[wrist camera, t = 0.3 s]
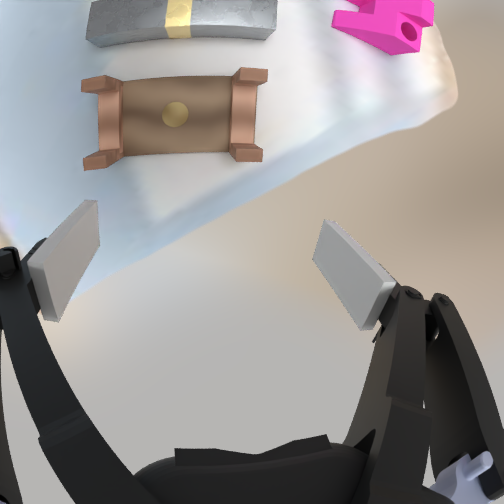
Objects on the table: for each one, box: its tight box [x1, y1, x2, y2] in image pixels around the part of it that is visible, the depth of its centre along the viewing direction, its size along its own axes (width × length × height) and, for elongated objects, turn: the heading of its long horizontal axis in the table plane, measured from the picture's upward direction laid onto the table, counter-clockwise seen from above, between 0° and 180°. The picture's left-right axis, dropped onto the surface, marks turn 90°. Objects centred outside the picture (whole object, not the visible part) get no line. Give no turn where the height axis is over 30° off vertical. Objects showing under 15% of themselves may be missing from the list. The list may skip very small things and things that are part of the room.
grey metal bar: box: [86, 0, 277, 47], centre depth 25 cm, size 24×6×6 cm, turn 87°
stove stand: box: [81, 67, 268, 171], centre depth 30 cm, size 11×22×10 cm, turn 87°
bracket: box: [331, 0, 434, 55], centre depth 25 cm, size 12×10×10 cm
